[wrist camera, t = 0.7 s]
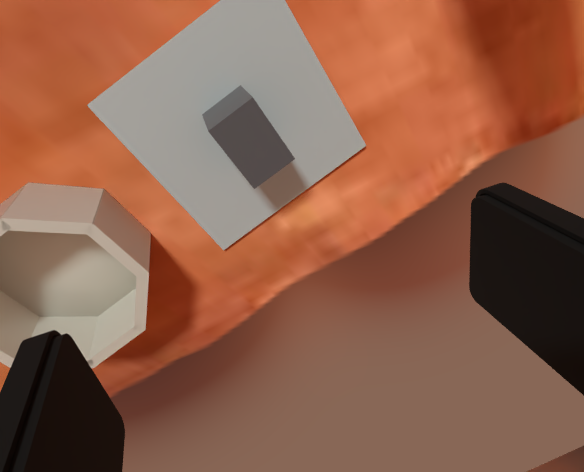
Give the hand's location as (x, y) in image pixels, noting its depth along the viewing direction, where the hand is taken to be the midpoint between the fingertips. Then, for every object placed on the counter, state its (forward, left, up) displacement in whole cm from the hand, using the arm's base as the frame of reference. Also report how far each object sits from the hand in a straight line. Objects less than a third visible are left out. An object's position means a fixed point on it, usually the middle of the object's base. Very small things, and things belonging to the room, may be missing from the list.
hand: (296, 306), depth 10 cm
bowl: (+16, +3, -25) cm, 29 cm away
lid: (-1, +3, -25) cm, 26 cm away
